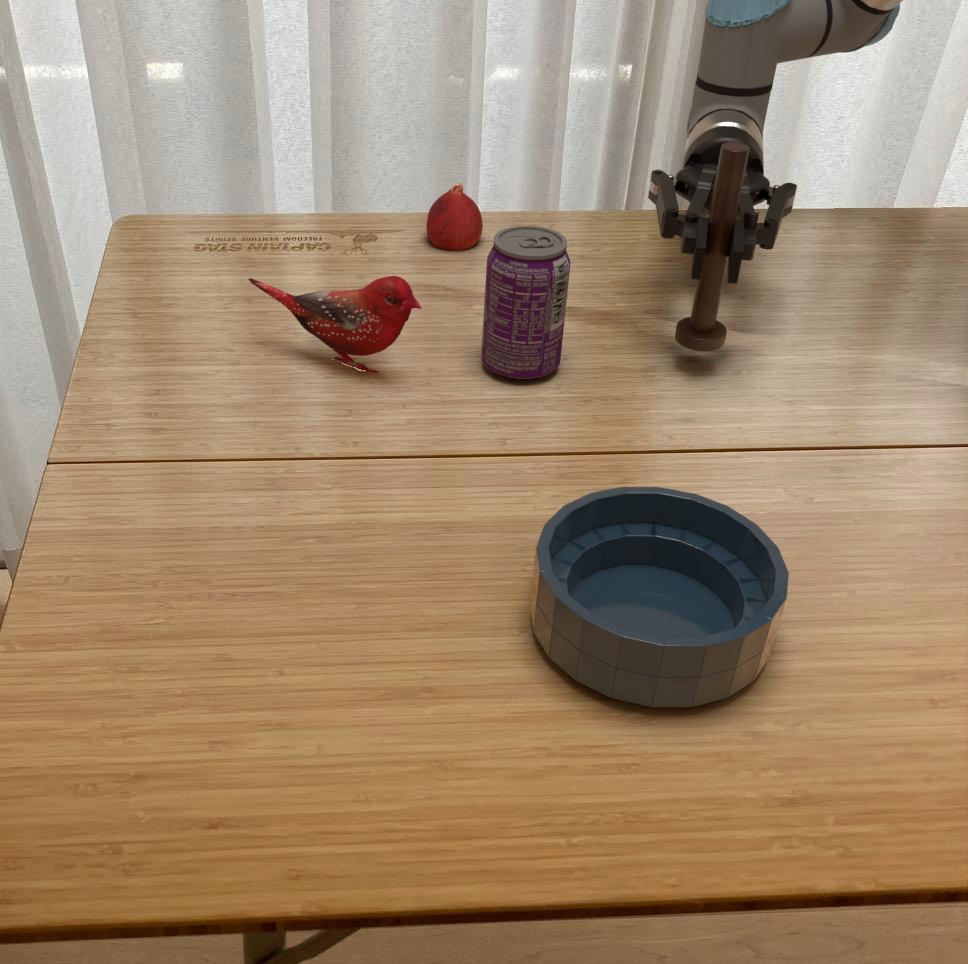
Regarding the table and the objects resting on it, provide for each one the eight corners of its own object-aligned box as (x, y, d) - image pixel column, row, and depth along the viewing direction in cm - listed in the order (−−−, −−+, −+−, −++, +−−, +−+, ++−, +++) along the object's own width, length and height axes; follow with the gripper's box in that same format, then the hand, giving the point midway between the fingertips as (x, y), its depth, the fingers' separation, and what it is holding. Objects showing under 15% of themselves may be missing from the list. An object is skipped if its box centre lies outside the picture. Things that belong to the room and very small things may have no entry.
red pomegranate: (439, 273, 115) (441, 198, 110) (417, 251, 119) (418, 178, 114) (489, 264, 117) (494, 189, 112) (466, 242, 121) (469, 170, 116)
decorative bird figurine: (412, 396, 96) (414, 290, 90) (244, 346, 102) (234, 243, 96) (428, 381, 98) (430, 276, 92) (262, 333, 104) (254, 232, 98)
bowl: (774, 579, 78) (793, 511, 74) (759, 741, 66) (781, 671, 62) (556, 535, 81) (564, 468, 78) (505, 683, 70) (511, 612, 66)
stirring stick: (726, 332, 100) (765, 140, 90) (722, 355, 97) (762, 159, 86) (677, 325, 101) (710, 134, 91) (671, 347, 98) (704, 152, 87)
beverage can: (548, 344, 104) (560, 221, 96) (568, 383, 98) (583, 255, 91) (473, 349, 103) (480, 225, 95) (490, 389, 97) (498, 260, 90)
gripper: (795, 210, 108) (804, 319, 90) (637, 194, 111) (615, 297, 93) (813, 132, 103) (826, 231, 85) (648, 117, 106) (626, 210, 88)
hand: (716, 265), depth 89 cm, fingers closed on stirring stick, 2 cm apart
